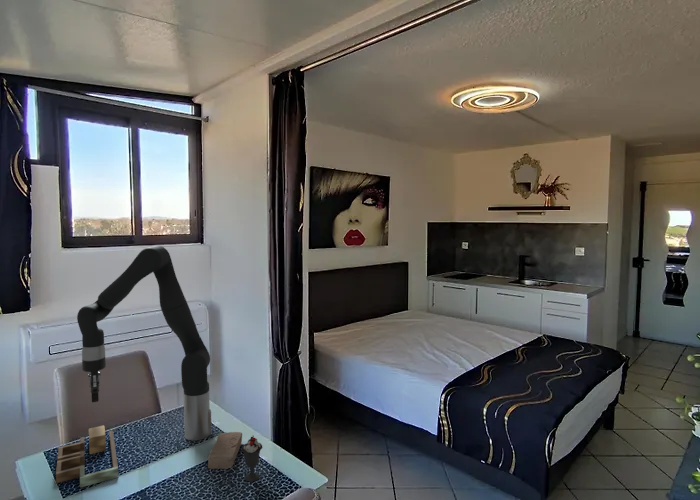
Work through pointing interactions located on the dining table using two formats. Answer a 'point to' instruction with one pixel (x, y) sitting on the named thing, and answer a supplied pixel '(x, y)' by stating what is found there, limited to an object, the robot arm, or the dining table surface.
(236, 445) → the brick
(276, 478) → the dining table surface
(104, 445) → the block
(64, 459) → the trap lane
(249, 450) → the sundae
